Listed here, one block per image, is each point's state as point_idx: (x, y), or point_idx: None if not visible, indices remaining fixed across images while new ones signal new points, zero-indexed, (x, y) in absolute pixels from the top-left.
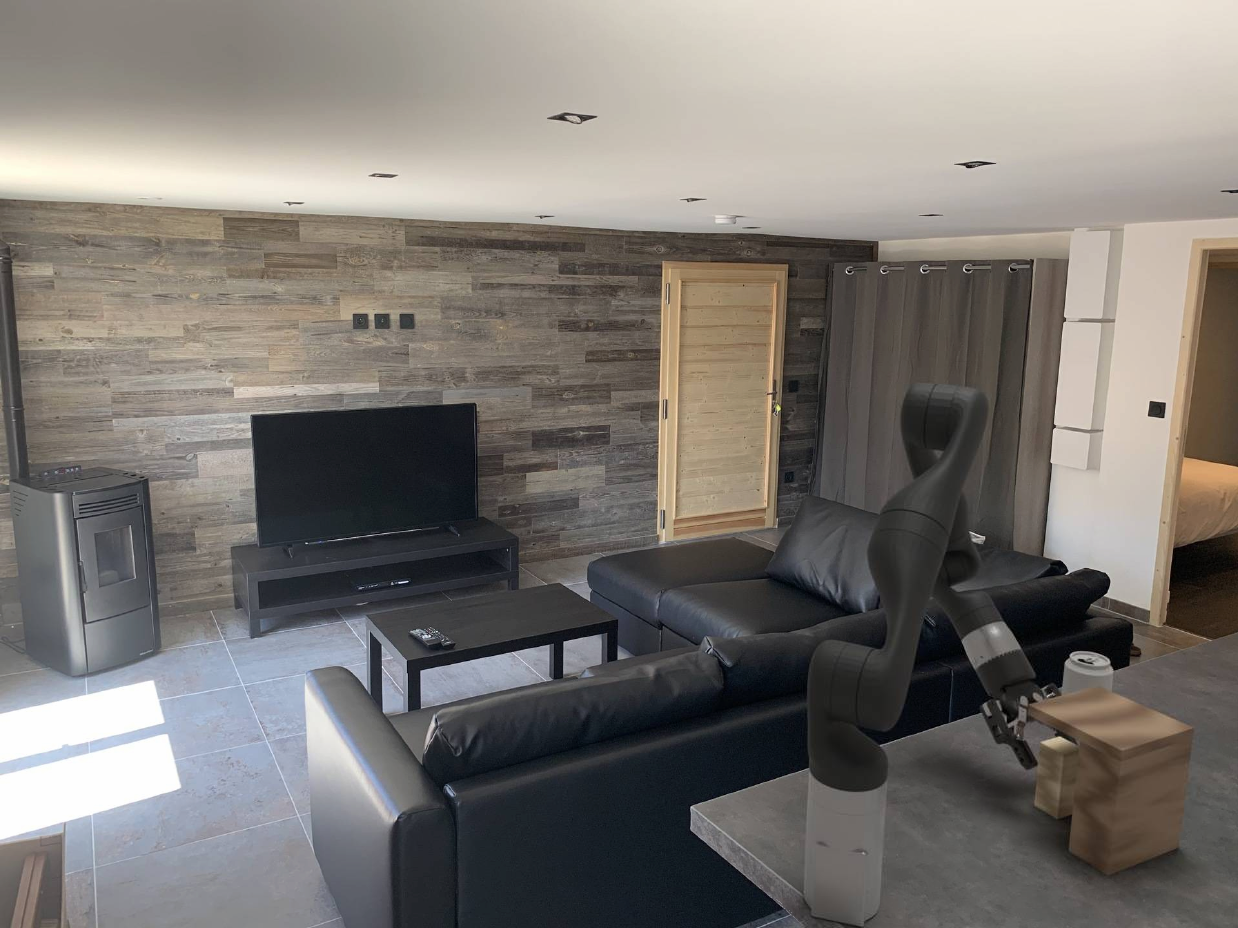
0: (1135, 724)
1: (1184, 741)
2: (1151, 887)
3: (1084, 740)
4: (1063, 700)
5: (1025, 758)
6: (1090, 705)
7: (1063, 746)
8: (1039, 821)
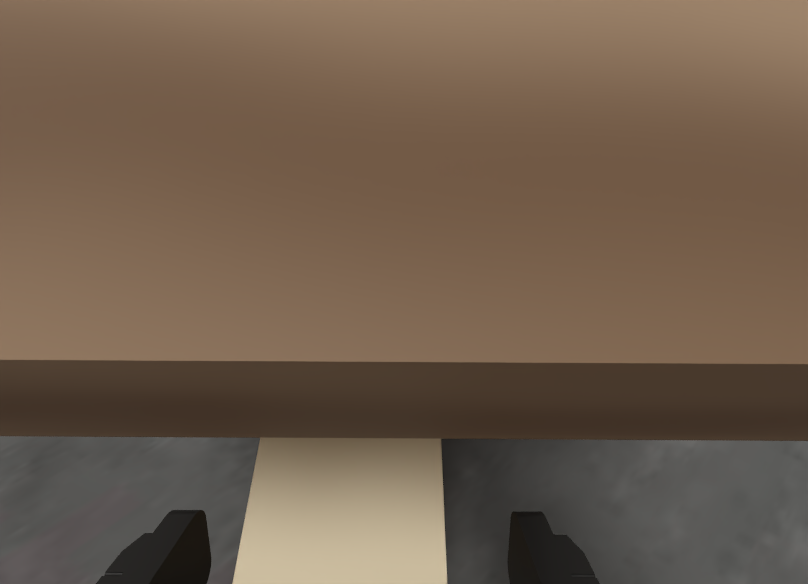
0: None
1: None
2: None
3: None
4: (463, 173)
5: (588, 563)
6: None
7: (351, 460)
8: (484, 477)
